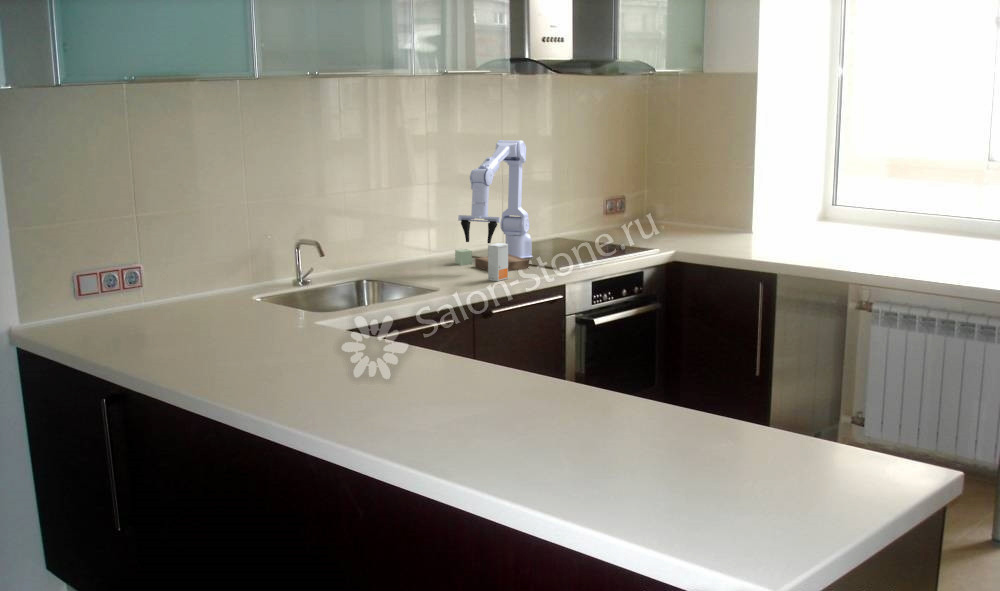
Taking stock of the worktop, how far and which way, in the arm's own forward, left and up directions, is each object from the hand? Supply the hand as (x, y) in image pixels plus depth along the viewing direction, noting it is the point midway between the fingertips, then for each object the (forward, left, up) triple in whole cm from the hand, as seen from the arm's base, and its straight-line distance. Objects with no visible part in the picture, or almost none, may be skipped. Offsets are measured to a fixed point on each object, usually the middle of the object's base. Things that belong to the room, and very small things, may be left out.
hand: (478, 242), depth 346 cm
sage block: (-3, -17, -10) cm, 20 cm away
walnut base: (-11, -3, -10) cm, 15 cm away
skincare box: (+1, +15, -11) cm, 19 cm away
